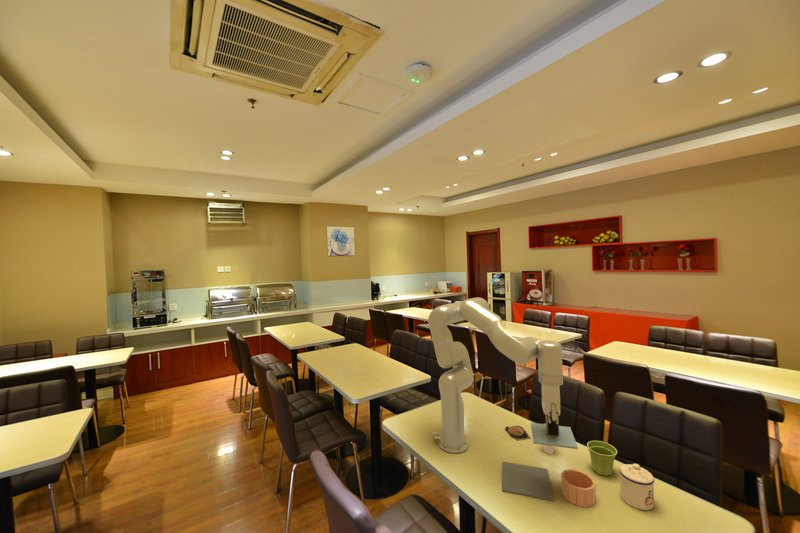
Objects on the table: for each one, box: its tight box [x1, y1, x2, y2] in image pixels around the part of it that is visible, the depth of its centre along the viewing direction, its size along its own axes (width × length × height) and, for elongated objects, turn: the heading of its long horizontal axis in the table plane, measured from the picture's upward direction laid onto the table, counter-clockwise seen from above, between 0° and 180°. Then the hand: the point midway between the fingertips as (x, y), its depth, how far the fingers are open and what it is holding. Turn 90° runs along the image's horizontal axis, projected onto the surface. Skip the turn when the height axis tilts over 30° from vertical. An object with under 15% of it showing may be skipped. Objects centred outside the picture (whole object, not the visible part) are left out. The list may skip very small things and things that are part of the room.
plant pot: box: [586, 440, 618, 477], centre depth 118 cm, size 9×9×9 cm
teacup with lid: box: [619, 463, 655, 511], centre depth 104 cm, size 12×9×12 cm
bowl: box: [560, 468, 597, 508], centre depth 106 cm, size 10×10×6 cm
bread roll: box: [504, 425, 532, 442], centre depth 145 cm, size 11×8×4 cm
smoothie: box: [542, 445, 556, 455], centre depth 131 cm, size 6×6×14 cm
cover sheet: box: [530, 414, 579, 450], centre depth 109 cm, size 13×13×7 cm
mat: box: [501, 461, 555, 502], centre depth 114 cm, size 16×16×1 cm
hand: (552, 430), depth 109 cm, fingers closed on cover sheet, 4 cm apart
